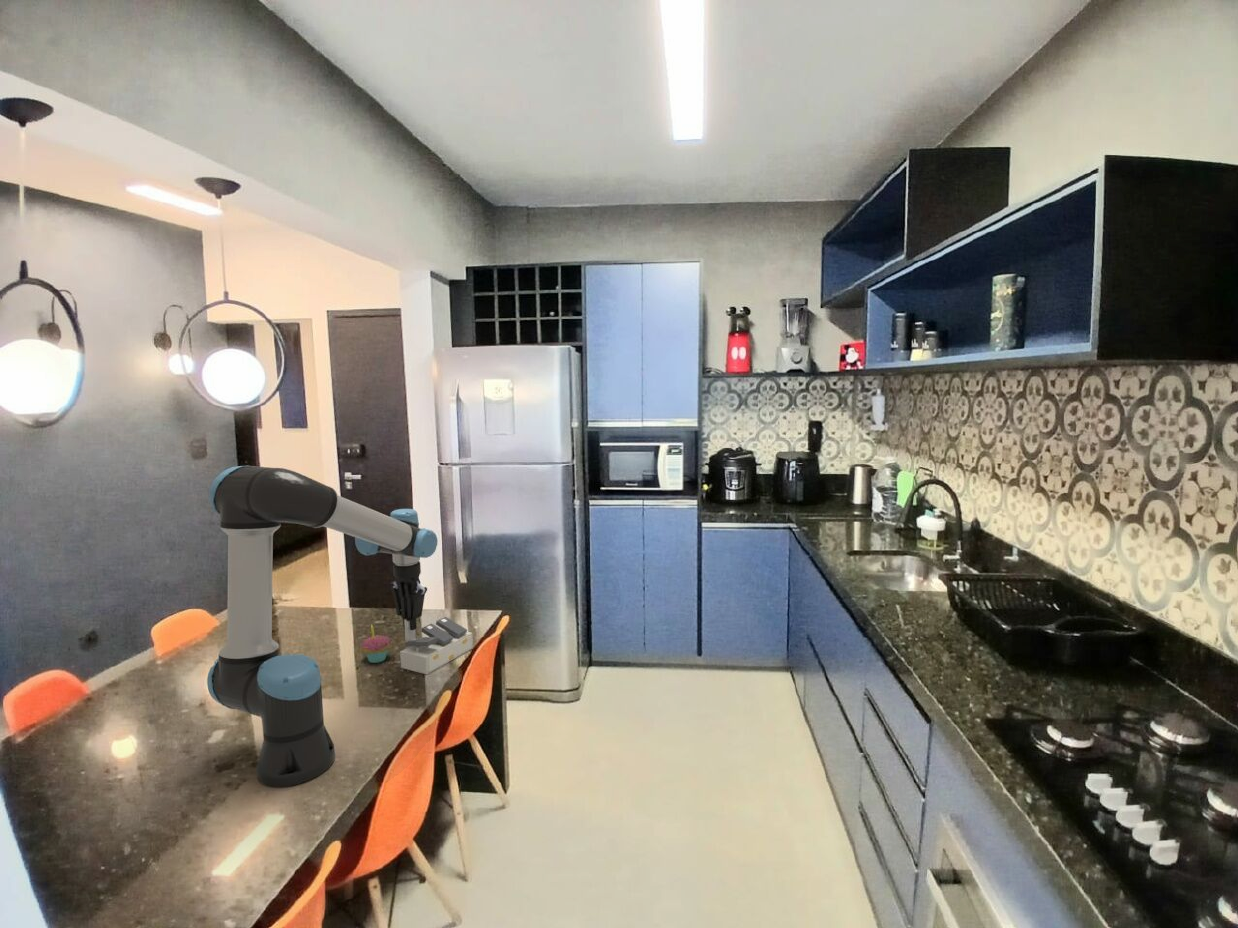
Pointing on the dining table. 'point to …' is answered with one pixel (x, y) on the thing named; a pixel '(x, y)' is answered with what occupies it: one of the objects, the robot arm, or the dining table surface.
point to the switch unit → (435, 654)
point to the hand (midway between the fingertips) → (410, 639)
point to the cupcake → (376, 647)
